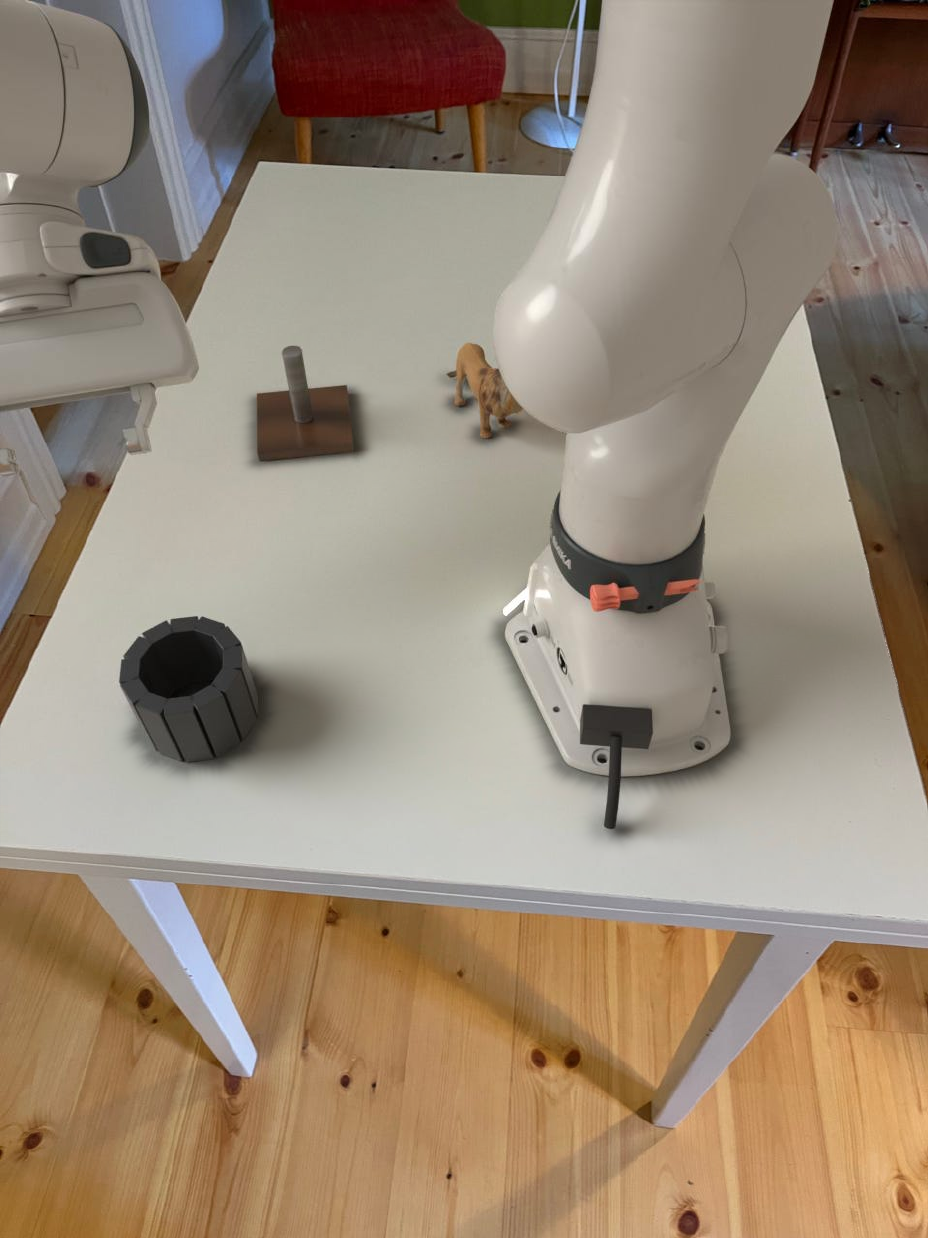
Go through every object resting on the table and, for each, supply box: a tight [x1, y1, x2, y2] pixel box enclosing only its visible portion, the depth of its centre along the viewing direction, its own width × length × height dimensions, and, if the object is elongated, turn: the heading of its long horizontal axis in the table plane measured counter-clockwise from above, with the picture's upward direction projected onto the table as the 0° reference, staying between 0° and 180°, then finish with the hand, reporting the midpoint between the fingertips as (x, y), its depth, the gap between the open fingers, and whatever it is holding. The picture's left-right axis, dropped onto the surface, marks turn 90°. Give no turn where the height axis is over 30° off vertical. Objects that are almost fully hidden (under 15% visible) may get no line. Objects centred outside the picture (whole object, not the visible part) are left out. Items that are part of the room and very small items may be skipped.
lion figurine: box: [446, 342, 524, 439], centre depth 99 cm, size 15×5×9 cm, turn 34°
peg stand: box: [256, 345, 355, 462], centre depth 97 cm, size 10×10×10 cm
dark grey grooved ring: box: [118, 615, 259, 763], centre depth 75 cm, size 9×9×7 cm
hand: (73, 464), depth 67 cm, fingers open, 8 cm apart
